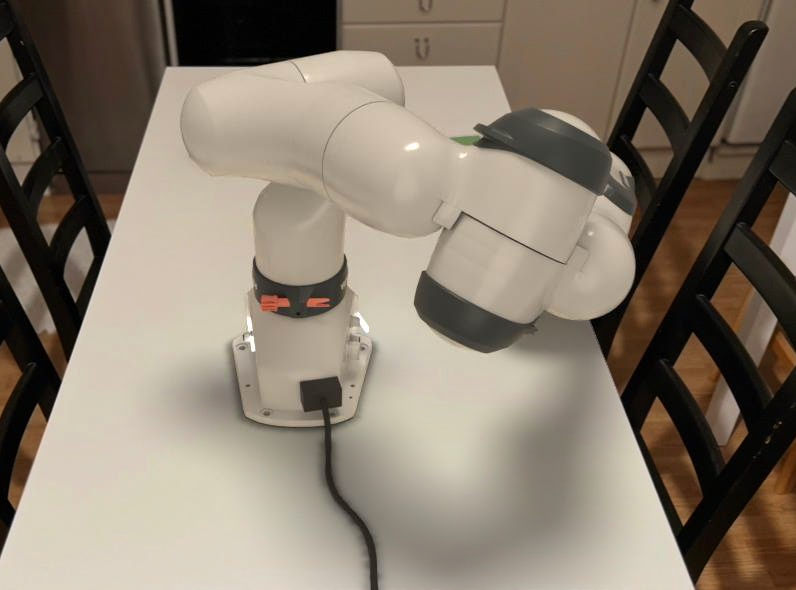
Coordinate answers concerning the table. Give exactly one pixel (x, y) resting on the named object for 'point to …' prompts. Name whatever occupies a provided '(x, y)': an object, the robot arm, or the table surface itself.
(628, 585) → the table surface
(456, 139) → the green flat board
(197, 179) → the table surface
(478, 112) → the table surface
